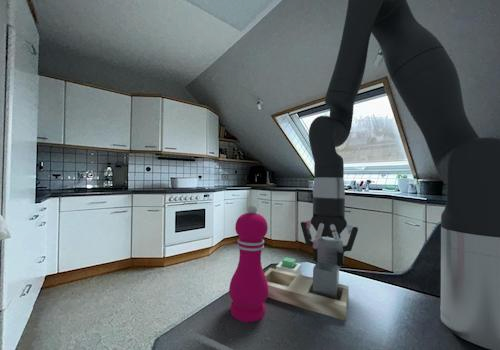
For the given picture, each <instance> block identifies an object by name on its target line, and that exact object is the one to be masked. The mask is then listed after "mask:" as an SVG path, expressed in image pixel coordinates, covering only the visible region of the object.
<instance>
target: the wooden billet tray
mask: <svg viewBox="0 0 500 350" xmlns="http://www.w3.org/2000/svg"><path fill="white" fill-rule="evenodd" d="M264 274H265V277H266V279H267V283H268V297H267V298H270V299H272V300H275V301H278V302H282V303H286V304H290V305H292V306H296V307H299V308H301V309H305V310H308V311H311V312H314V313H319V314H322V315H324V316H328V317H330V318H331V317H332V318H334V319H338V320H342V321H345V322H346V321H347V320H346V319H347V315H348V314H347V313H348V312H347V311H348V304H349V288H350V287H349V285H344V284H341V283H339V289H338V300H335V299H331V298H327V297H323V296H320V295H316V294H313V277H311V276H306V275H302V274H300V275H299V274H294V273H290V272H286V271H282V270H277V269H276V268H272V267H269V268H268V269H267V270H265V272H264Z"/></svg>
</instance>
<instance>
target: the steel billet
mask: <svg viewBox="0 0 500 350" xmlns="http://www.w3.org/2000/svg"><path fill="white" fill-rule="evenodd" d="M337 252H338V249H337V242H335V241H334V238H330V237H328V236H327V237H322V238H321V239H320V240H318V250H317V262H322V263H327V264H332V265H337Z"/></svg>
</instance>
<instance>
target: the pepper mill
mask: <svg viewBox="0 0 500 350" xmlns="http://www.w3.org/2000/svg"><path fill="white" fill-rule="evenodd" d="M257 211H258V208H257V206H256V205H255V204H249V205H248V207H247V213H243V214H241V215H240V216H238V218H237V219H236V222H235V225H234V227H235V232H236V234H237V236H238V237H239V238H238V239H237V245H236V246H237V248H238V249H239V250H238V251H239V259H238V264H237V267H236V269H235V271H234V274H233V275H232V277H231V280H230V284H229V289H228V294H229V297H230V299H231V300H232V301H231V304H230V315H231V316H232V317H233V318H234V319H236V320H238V321H240V322H243V323H253V322H257V321H260V320H261V319H263V318H264V317H265V314H266V304H265V302H266V300H267V299H268V298H269V297H268V283H267V279H266V277H265V274H264V273H265V272H264V269H263V266H262V261H261V260H262V250H264V249H265V240H264V237H265V236H266V235H267V233H268V227H269V226H268V222H267V220H266V219H265V217H264V216H263V215H261V214H259V213H257Z"/></svg>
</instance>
